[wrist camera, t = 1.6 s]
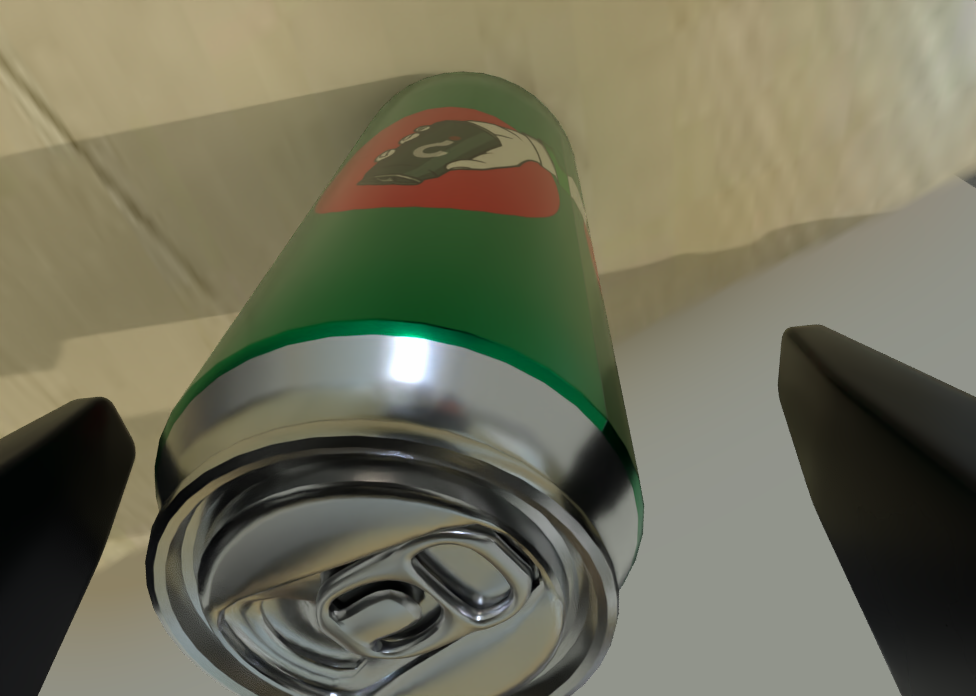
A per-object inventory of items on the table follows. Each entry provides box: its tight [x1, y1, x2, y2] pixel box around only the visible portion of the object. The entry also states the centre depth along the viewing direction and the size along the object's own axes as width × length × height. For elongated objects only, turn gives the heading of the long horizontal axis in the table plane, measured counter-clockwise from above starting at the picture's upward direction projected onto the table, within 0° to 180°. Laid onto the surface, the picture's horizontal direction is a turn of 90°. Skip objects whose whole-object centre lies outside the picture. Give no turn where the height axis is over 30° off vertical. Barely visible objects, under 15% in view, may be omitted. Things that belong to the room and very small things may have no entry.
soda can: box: [145, 72, 644, 696], centre depth 11 cm, size 5×5×12 cm
